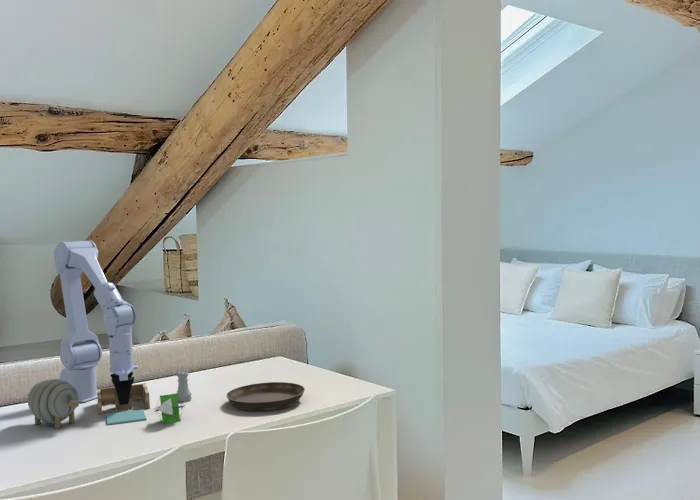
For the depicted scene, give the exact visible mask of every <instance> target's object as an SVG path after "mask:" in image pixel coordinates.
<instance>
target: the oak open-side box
mask: <svg viewBox="0 0 700 500" xmlns="http://www.w3.org/2000/svg"><path fill="white" fill-rule="evenodd" d="M131 391H132V401H136V400H143V402H144V405H145V408H146V409H150V408H151V406H150V405H151V404H150V403H151V402H150V401H151V400H150V392H149V389H148V387H147V384H146V383H138V384H132V386H131ZM96 399H97V409H98V410H97V412H98V415H101V416H102V415H103V409H102V405H103V404H110V403H111V404H112V403H115V386H111V387H102V388H100V387H99V388H97V398H96Z"/></svg>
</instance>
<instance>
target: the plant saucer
mask: <svg viewBox="0 0 700 500" xmlns="http://www.w3.org/2000/svg"><path fill="white" fill-rule="evenodd" d="M305 390H306V388H305V386H303V385H301V384H298V383H294V382H283V381H280V382H279V381H278V382H277V381H276V382H275V381H273V382H272V381H270V382H260V383H253V384H246V385H242V386H238V387H236V388H234V389H232V390H229V391H228V392H227V393H226V398H227V399H228V401H229V402H230V403H231V404H232V405H233V406H234V407H236V408H238V409H240V410H242V411H243V410H245V411H249V412H250V411H251V412H267V411H268V412H269V411H275V410H280V409H284V408H285V409H286V408H288V407H290V406H293V405H294V404H296V403H297V402H298V401H299V400H300V399H301V398H302V396H303V394H304V393H305Z"/></svg>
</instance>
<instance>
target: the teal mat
mask: <svg viewBox="0 0 700 500" xmlns="http://www.w3.org/2000/svg"><path fill="white" fill-rule="evenodd" d="M105 414H106V415H105V416H106V423H107V426H110V425H118V424H126V423H132V422H141V421H147V417H146V414H145V411H144V408H142V409H133V410H132V409H131V410H123V411H116V412H109V413H105Z"/></svg>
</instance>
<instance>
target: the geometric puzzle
mask: <svg viewBox="0 0 700 500" xmlns="http://www.w3.org/2000/svg"><path fill="white" fill-rule="evenodd" d="M176 393H177V392H176ZM176 393H171V394H163V395H159V397H158V401H157V404H156V407H155V410H154V413H156V415H157V417H158V418H159V420H160V422H161V423H162V424H163V425H164V424H169V423H174V422H175V423H177V422H181V420H182V416H183V413H184V411H185V409H184V408H185V407H186V404H185V403H182V402H178V396H179V395H178V393H177V394H176ZM177 395H178V396H177ZM179 400H180V399H179ZM159 403H160V405H159ZM179 403H180V404H181V405H179ZM158 405H159V406H158ZM156 408H157V409H156ZM180 410H182V411H181V412H180ZM159 412H160V413H159ZM158 415H159V416H158Z"/></svg>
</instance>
